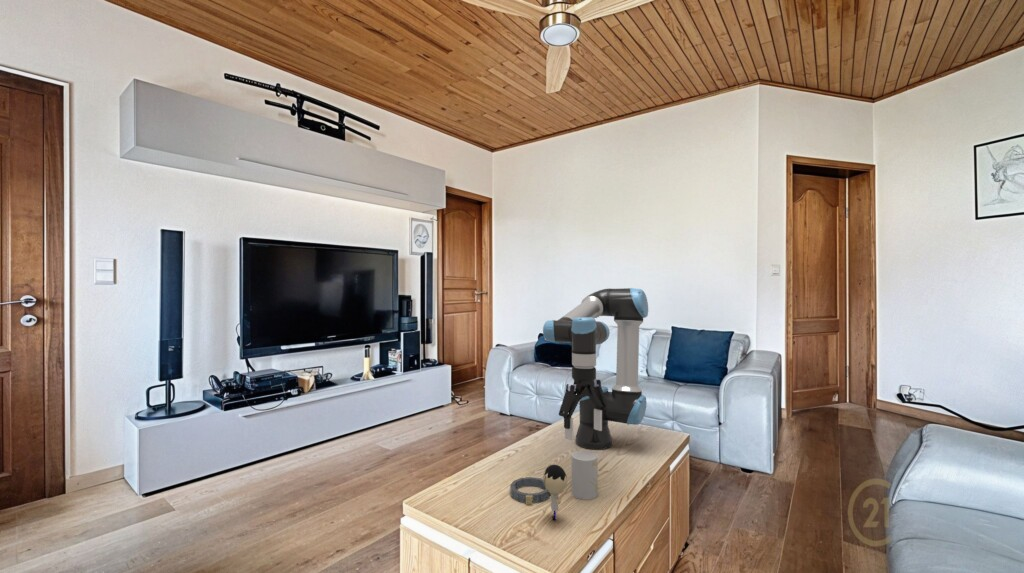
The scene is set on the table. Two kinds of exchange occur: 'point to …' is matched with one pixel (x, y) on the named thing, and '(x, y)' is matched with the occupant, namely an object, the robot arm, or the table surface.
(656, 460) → the table surface
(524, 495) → the collar
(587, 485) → the grey cylinder
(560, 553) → the table surface
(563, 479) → the toy
